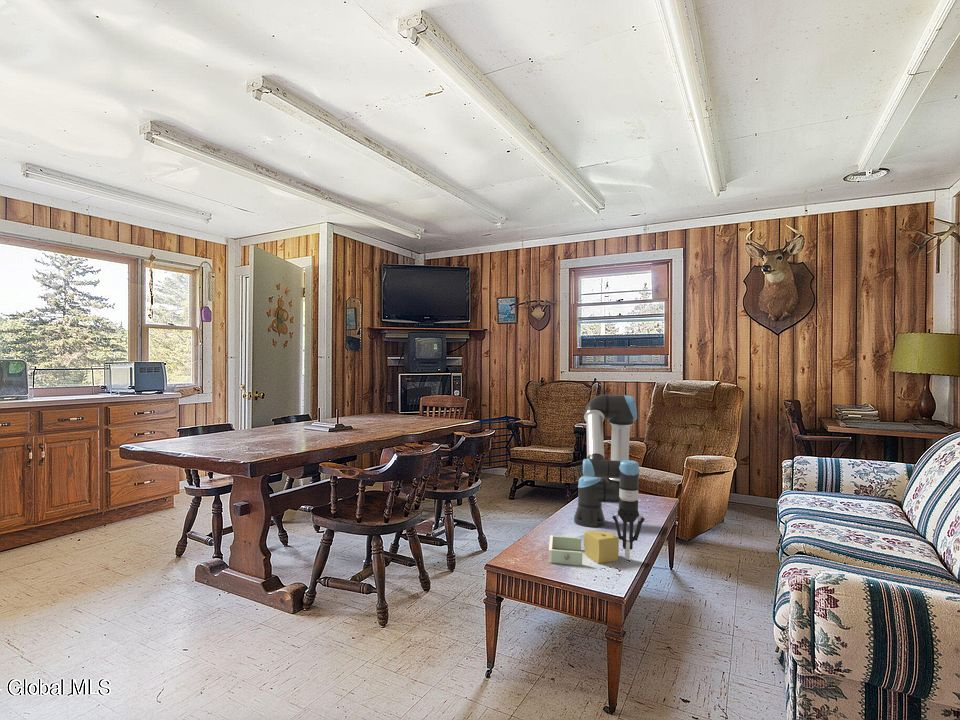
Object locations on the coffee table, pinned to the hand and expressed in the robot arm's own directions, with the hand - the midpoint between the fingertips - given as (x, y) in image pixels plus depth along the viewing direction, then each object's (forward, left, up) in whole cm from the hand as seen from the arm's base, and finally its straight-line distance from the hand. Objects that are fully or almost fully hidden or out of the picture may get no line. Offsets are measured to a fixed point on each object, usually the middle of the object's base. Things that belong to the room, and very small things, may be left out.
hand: (627, 556), depth 208 cm
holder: (+1, -24, -1) cm, 24 cm away
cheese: (0, -10, -2) cm, 10 cm away
